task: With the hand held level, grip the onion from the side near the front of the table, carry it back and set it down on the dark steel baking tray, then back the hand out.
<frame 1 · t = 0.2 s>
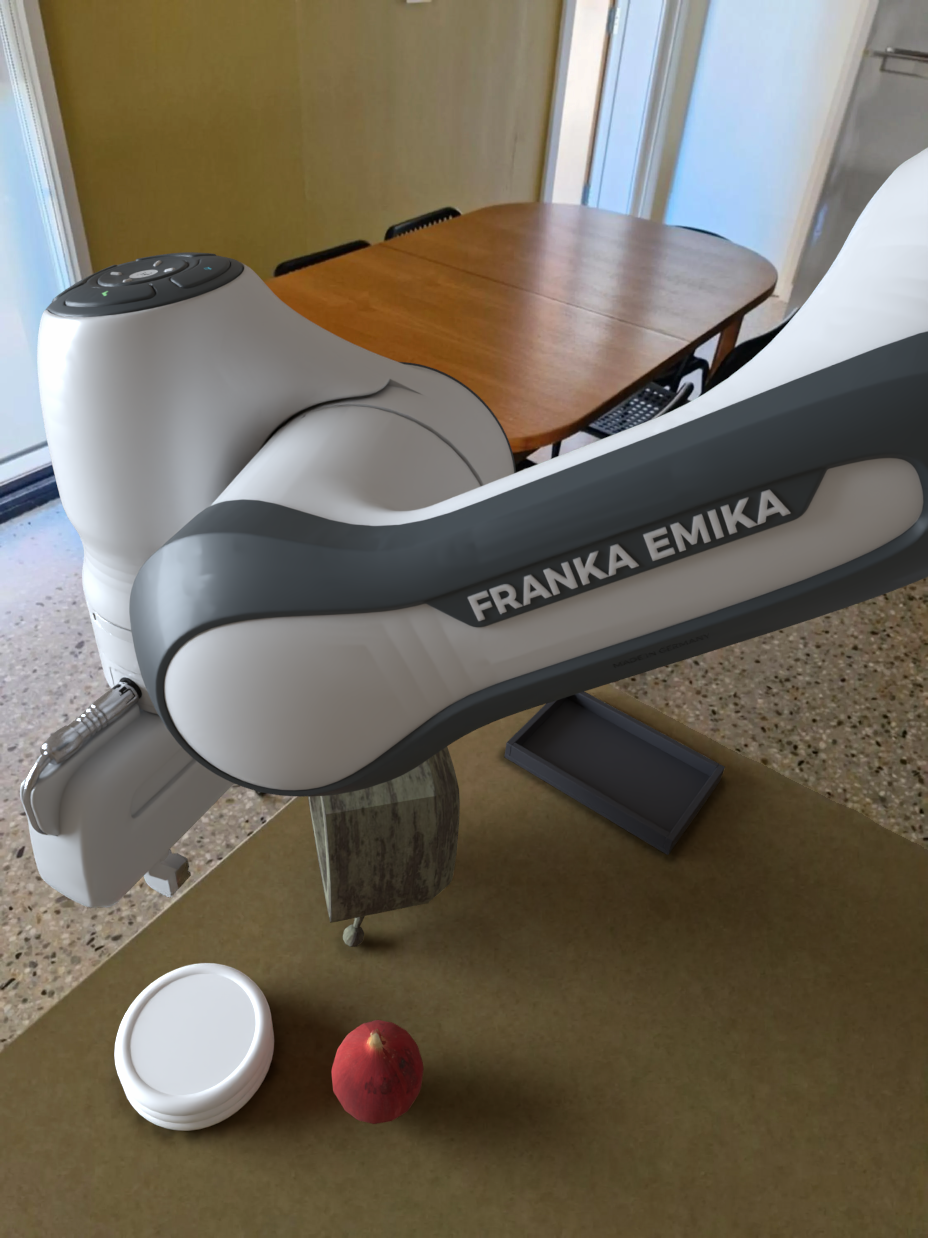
hand: (228, 820, 49), 22 cm above the counter, tool pointing down, fingers open, 8 cm apart
baking tray: (611, 769, 83), on the counter
white round flat cylinder: (200, 1056, 61), on the counter
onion: (377, 1097, 59), on the counter
tabletop clock: (375, 878, 73), on the counter
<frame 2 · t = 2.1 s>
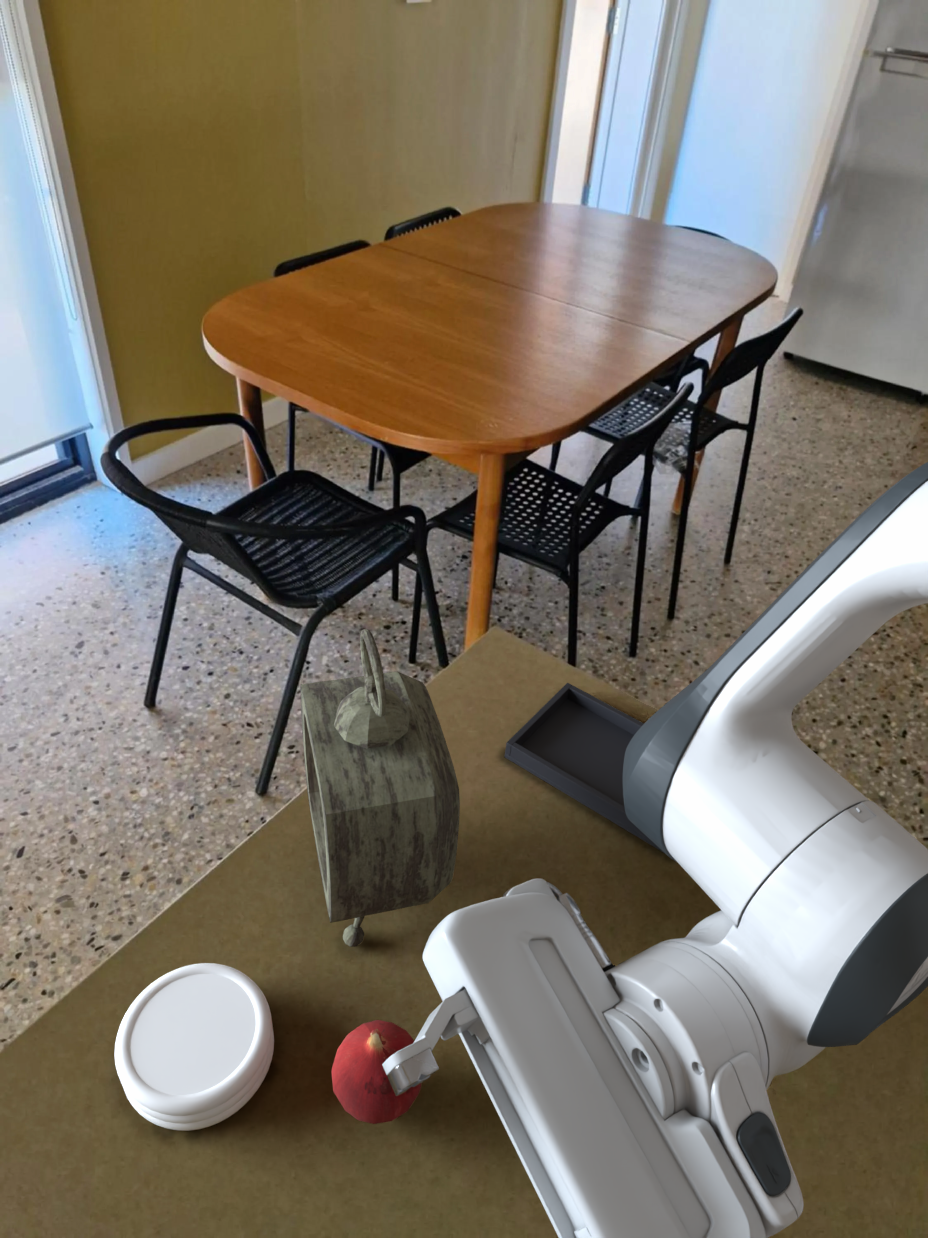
hand: (441, 1187, 37), 20 cm above the counter, tool horizontal, fingers open, 8 cm apart
nothing on the counter moved.
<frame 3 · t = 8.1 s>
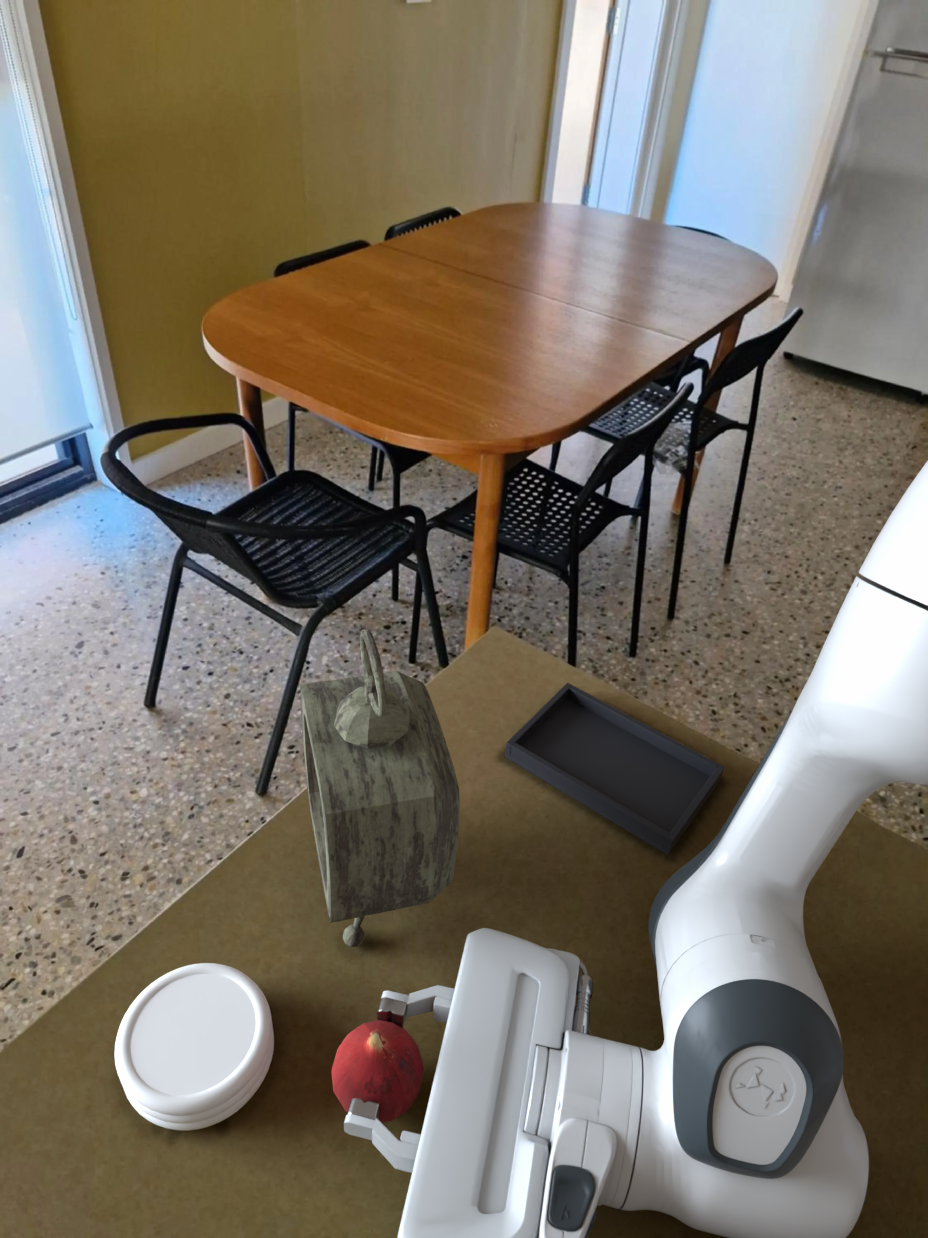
hand: (364, 1058, 56), 5 cm above the counter, tool horizontal, fingers closed on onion, 5 cm apart
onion: (377, 1097, 59), on the counter, touching gripper
everything else where it was.
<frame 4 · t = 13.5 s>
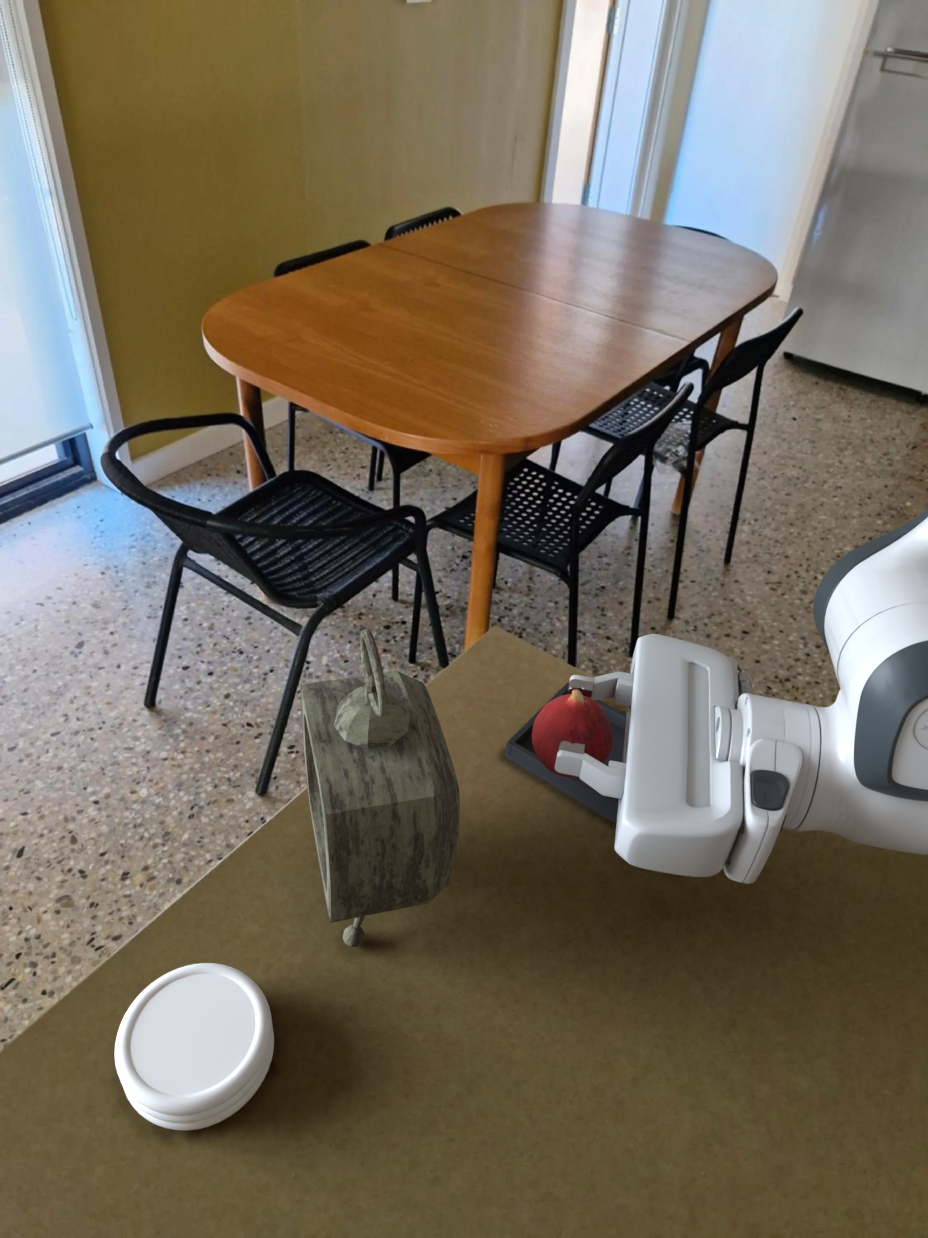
hand: (562, 721, 64), 17 cm above the counter, tool horizontal, fingers closed on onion, 5 cm apart
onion: (564, 772, 67), point 12 cm above the counter, touching gripper
everything else where it was.
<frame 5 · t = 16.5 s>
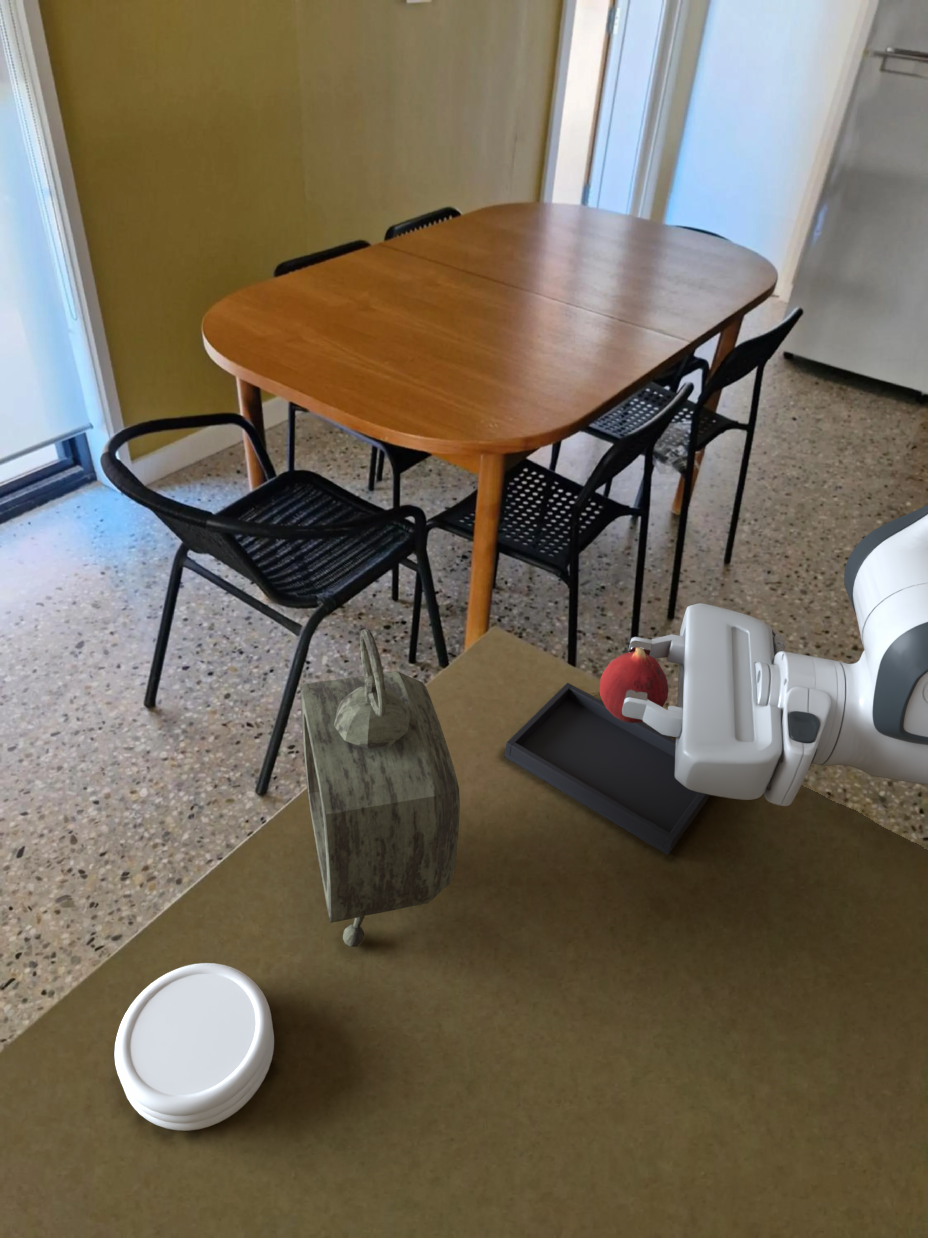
hand: (626, 674, 76), 12 cm above the counter, tool horizontal, fingers closed on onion, 5 cm apart
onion: (625, 719, 79), point 6 cm above the counter, touching gripper
everything else where it was.
when the fingers open (5 cm above the counter, at t = 18.8 s): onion stays where it is, resting on baking tray.
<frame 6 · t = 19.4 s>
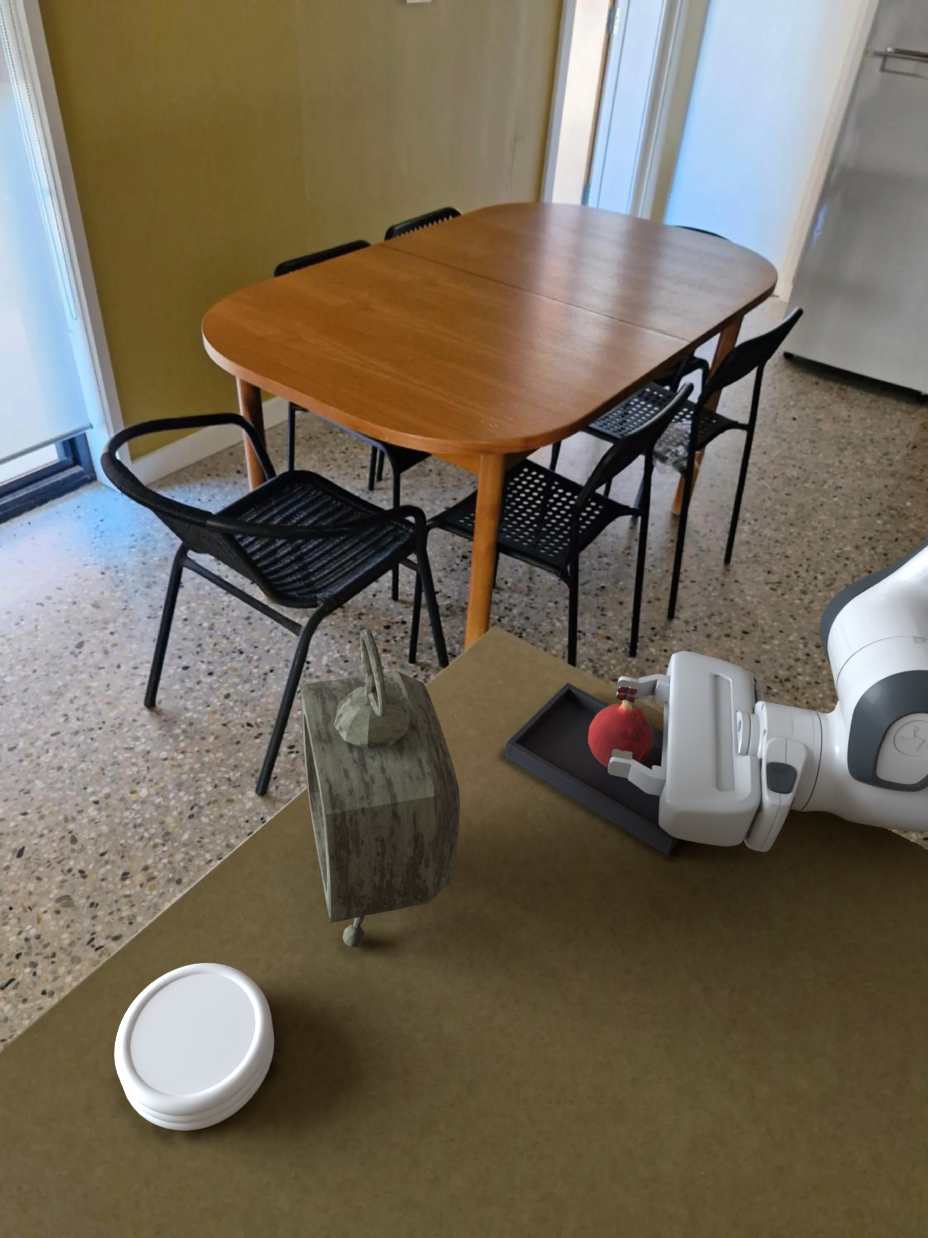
hand: (613, 722, 79), 6 cm above the counter, tool horizontal, fingers open, 8 cm apart
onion: (613, 765, 83), resting on baking tray
everything else where it was.
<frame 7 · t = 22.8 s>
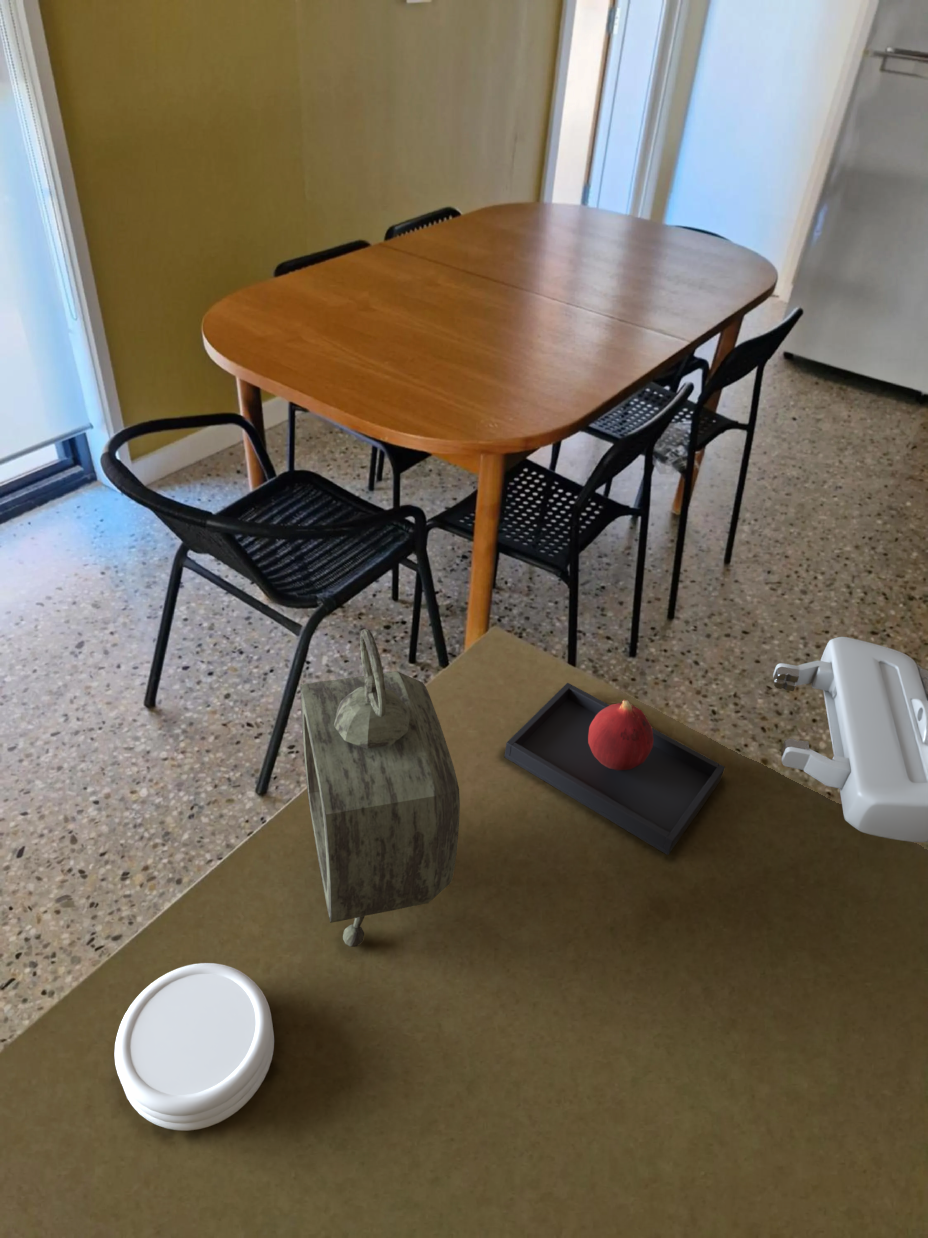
hand: (778, 711, 74), 11 cm above the counter, tool horizontal, fingers open, 8 cm apart
nothing on the counter moved.
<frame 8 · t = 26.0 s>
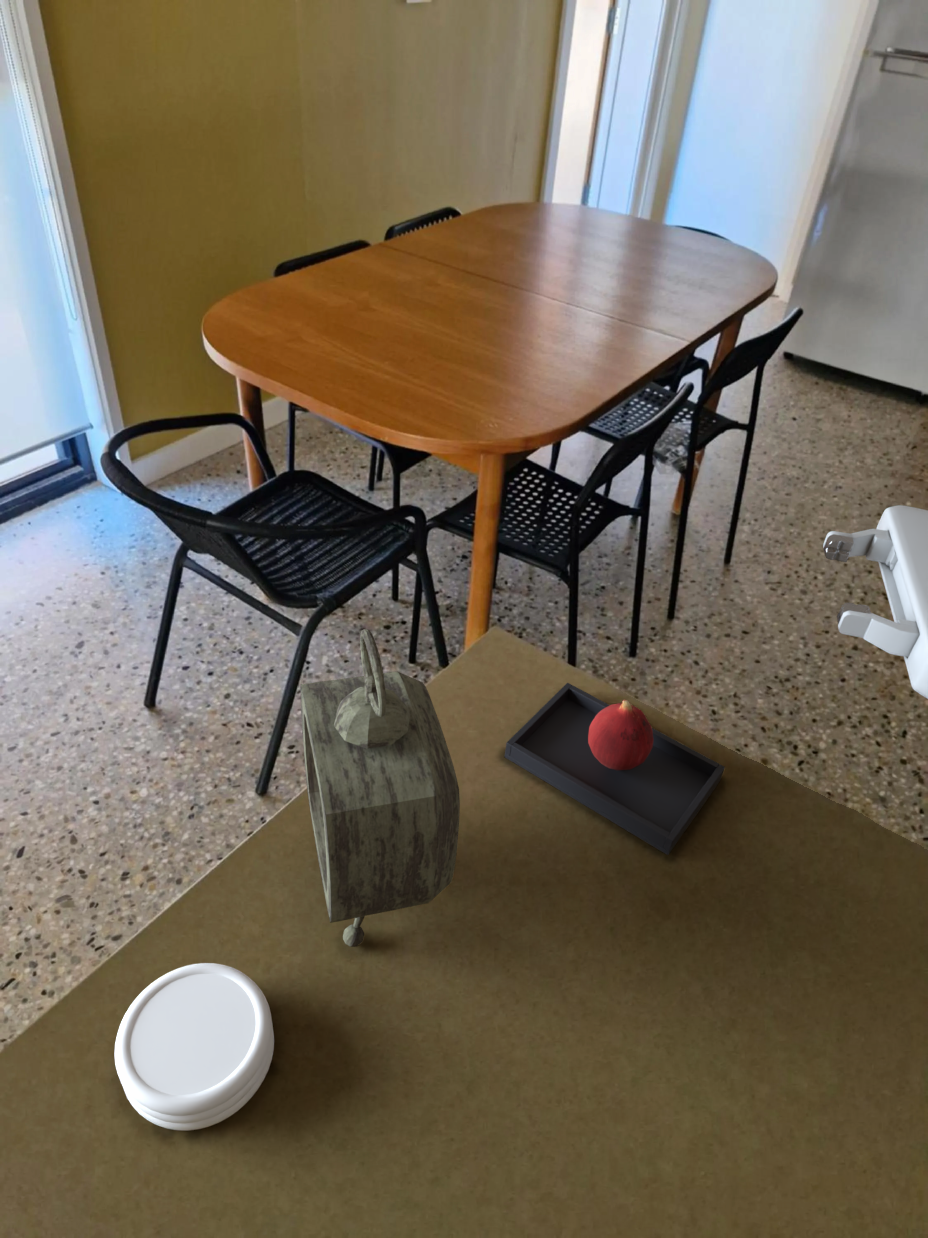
hand: (832, 578, 66), 25 cm above the counter, tool horizontal, fingers open, 8 cm apart
nothing on the counter moved.
at the end: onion inside the target area in the baking tray (0.2 cm from its centre), point 0.3 cm above the baking tray's base; the gripper is holding nothing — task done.
